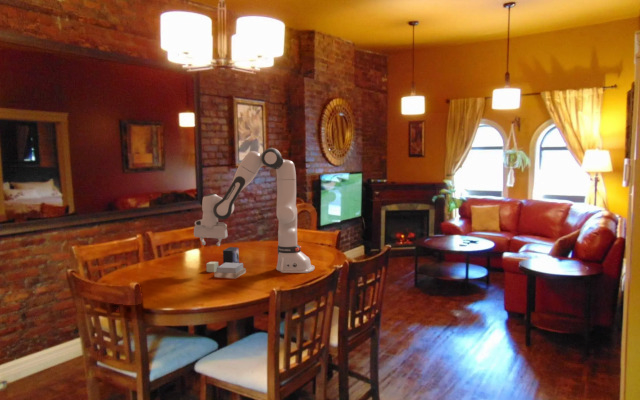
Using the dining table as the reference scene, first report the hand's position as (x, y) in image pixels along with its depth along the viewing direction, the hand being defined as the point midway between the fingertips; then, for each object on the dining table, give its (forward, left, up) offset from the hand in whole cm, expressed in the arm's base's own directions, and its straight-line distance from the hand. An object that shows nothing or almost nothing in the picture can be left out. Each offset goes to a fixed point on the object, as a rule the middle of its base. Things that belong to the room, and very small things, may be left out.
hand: (211, 245), depth 266 cm
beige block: (0, 0, -15) cm, 15 cm away
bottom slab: (-14, +5, -16) cm, 22 cm away
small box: (-5, -14, -16) cm, 22 cm away
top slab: (-14, +5, -13) cm, 20 cm away
